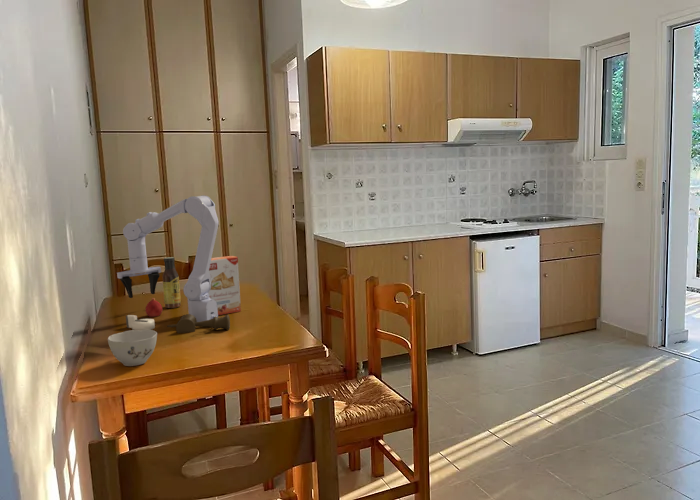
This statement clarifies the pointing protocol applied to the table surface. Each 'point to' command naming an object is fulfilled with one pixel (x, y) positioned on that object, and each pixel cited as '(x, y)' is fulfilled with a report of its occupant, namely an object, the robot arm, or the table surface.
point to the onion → (153, 308)
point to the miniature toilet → (139, 323)
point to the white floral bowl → (133, 346)
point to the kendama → (200, 323)
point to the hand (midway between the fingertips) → (141, 295)
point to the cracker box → (225, 284)
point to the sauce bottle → (171, 284)
